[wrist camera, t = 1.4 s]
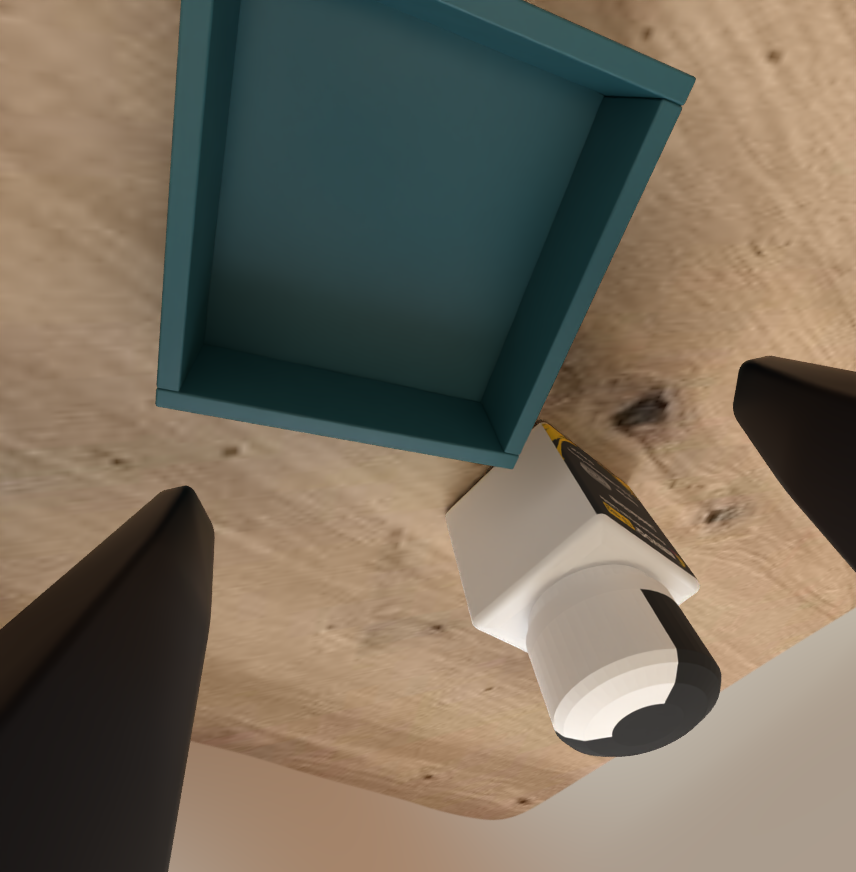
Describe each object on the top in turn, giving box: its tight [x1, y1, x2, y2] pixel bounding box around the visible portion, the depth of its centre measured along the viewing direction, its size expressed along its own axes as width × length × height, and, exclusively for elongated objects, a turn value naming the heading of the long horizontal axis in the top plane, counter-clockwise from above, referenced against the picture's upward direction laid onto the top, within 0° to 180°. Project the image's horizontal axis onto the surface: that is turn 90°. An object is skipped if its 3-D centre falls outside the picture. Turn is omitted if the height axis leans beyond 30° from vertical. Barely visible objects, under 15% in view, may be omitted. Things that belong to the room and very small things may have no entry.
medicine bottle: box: [445, 422, 721, 757], centre depth 23 cm, size 7×7×12 cm
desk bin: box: [155, 0, 696, 469], centre depth 18 cm, size 13×13×4 cm
